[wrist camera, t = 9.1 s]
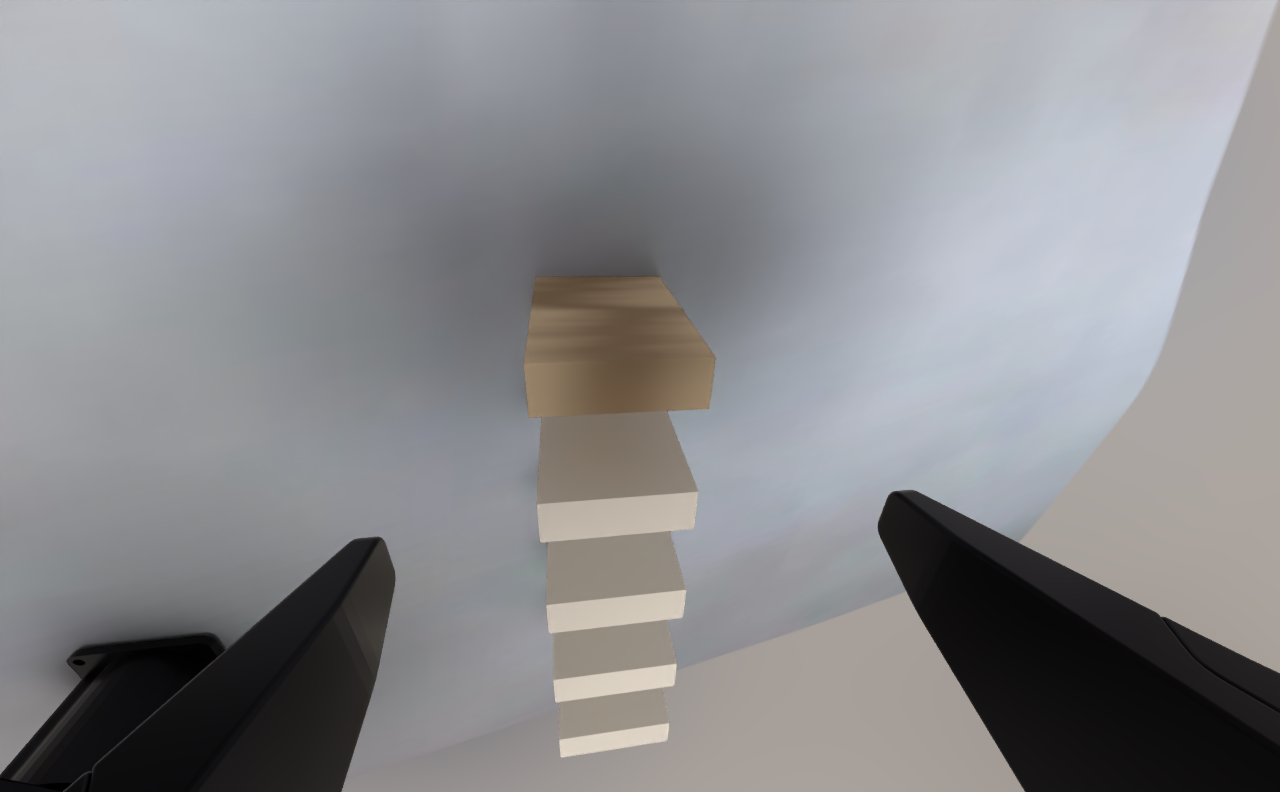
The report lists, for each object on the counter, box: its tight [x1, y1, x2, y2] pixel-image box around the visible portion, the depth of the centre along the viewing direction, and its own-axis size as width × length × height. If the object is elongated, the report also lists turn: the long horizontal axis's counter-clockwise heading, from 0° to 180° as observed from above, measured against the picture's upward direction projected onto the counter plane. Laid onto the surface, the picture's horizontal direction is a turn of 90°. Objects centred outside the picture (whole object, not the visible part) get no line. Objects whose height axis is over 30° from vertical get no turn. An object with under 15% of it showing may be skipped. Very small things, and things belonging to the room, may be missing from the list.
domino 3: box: [553, 620, 677, 702], centre depth 23 cm, size 5×2×8 cm, turn 88°
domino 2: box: [546, 531, 686, 634], centre depth 20 cm, size 5×2×8 cm, turn 88°
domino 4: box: [559, 687, 669, 757], centre depth 25 cm, size 5×2×8 cm, turn 88°
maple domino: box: [524, 276, 716, 418], centre depth 16 cm, size 5×2×8 cm, turn 88°
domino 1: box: [537, 411, 698, 543], centre depth 18 cm, size 5×2×8 cm, turn 88°
